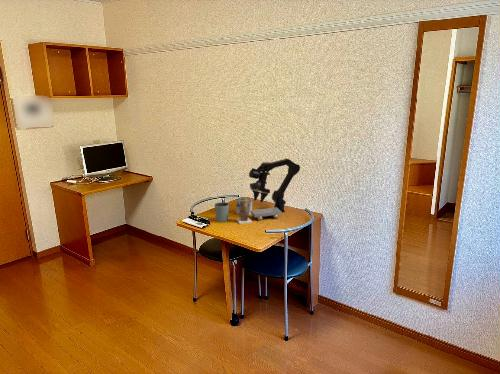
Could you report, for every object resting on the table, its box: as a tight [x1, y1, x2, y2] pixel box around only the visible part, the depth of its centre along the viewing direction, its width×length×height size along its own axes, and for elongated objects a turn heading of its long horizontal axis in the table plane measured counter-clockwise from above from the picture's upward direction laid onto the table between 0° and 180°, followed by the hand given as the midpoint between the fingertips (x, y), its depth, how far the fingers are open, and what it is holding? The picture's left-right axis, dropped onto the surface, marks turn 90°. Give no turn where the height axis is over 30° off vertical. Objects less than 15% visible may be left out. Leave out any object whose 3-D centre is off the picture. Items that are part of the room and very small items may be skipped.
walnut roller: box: [240, 201, 248, 221], centre depth 268 cm, size 5×5×13 cm
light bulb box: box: [235, 197, 253, 216], centre depth 286 cm, size 11×7×11 cm, turn 76°
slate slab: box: [250, 207, 283, 222], centre depth 276 cm, size 20×11×5 cm, turn 106°
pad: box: [235, 217, 253, 225], centre depth 269 cm, size 9×9×1 cm
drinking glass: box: [214, 201, 230, 223], centre depth 271 cm, size 10×10×12 cm
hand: (258, 201), depth 276 cm, fingers open, 9 cm apart
